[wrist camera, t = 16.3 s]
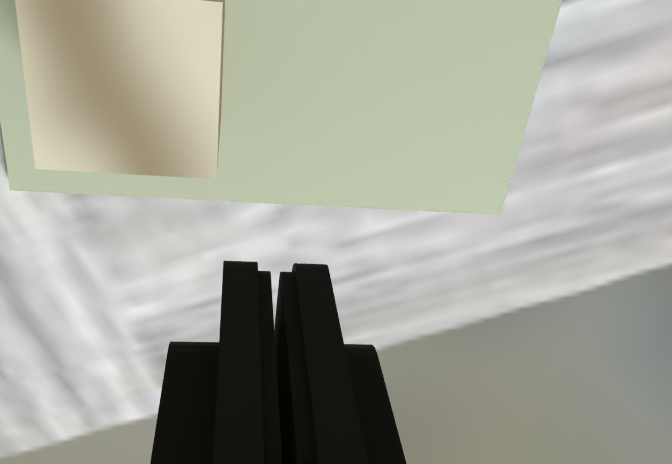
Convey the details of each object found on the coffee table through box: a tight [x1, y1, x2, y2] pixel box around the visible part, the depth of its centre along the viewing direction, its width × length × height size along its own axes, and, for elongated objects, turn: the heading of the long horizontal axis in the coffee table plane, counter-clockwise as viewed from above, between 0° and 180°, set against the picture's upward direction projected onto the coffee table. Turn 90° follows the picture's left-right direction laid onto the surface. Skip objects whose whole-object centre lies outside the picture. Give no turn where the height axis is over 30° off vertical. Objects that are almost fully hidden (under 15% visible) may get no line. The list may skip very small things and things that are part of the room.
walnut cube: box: [15, 0, 225, 179], centre depth 23 cm, size 6×6×6 cm
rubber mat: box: [0, 0, 562, 215], centre depth 27 cm, size 23×14×1 cm, turn 83°
